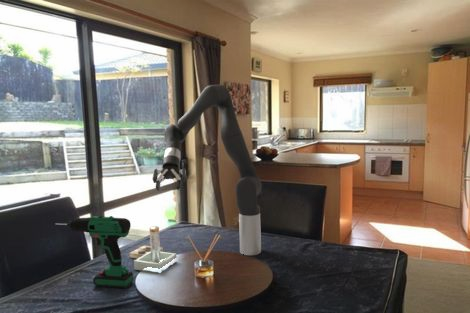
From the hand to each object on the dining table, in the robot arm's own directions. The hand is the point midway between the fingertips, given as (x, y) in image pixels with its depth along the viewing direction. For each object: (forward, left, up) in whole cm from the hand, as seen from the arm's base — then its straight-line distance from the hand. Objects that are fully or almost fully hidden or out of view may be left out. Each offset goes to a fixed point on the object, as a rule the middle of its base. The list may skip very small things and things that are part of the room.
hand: (167, 189), depth 157 cm
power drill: (+34, -11, -29) cm, 46 cm away
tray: (+13, +1, -29) cm, 31 cm away
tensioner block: (+4, -10, -29) cm, 31 cm away
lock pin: (+12, +1, -28) cm, 31 cm away
